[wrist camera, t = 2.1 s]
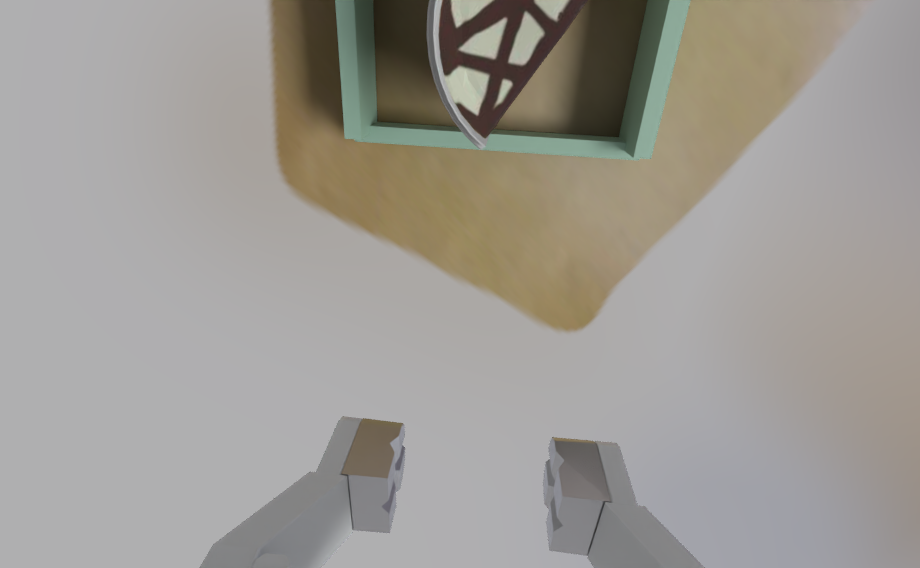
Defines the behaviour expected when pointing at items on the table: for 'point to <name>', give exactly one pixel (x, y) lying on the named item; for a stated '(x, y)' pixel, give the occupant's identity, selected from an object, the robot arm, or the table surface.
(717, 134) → the table surface
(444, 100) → the food container
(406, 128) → the u-shaped frame
